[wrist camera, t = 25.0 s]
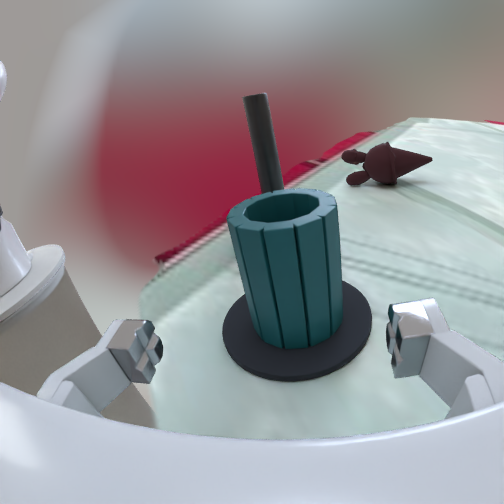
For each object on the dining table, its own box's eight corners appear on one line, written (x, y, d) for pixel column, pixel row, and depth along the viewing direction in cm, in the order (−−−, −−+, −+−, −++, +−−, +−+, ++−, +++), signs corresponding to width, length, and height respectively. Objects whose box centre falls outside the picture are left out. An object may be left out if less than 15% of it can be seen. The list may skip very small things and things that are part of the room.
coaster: (208, 381, 19) (206, 376, 18) (237, 285, 28) (236, 279, 28) (383, 373, 16) (384, 367, 16) (359, 274, 26) (359, 268, 25)
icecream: (424, 139, 43) (341, 149, 49) (433, 135, 36) (337, 146, 42) (430, 179, 44) (348, 188, 50) (441, 181, 38) (346, 192, 43)
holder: (229, 266, 31) (190, 107, 24) (245, 225, 40) (218, 103, 33) (329, 256, 29) (306, 85, 22) (322, 216, 38) (303, 88, 30)
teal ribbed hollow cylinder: (248, 351, 20) (215, 236, 16) (260, 293, 25) (238, 195, 21) (346, 345, 18) (342, 222, 14) (338, 286, 24) (330, 183, 20)
